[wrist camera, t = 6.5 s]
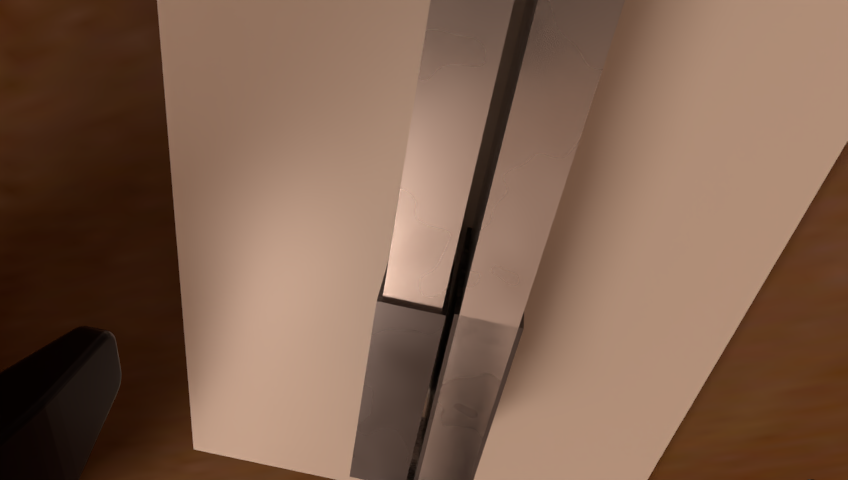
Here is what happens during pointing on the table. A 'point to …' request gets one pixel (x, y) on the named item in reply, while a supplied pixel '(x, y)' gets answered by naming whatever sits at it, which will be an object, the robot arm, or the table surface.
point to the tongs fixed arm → (511, 226)
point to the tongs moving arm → (427, 227)
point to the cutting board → (566, 245)
